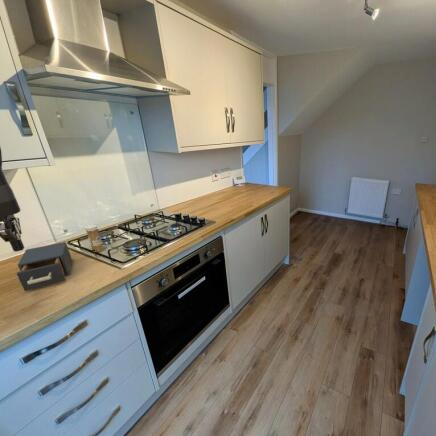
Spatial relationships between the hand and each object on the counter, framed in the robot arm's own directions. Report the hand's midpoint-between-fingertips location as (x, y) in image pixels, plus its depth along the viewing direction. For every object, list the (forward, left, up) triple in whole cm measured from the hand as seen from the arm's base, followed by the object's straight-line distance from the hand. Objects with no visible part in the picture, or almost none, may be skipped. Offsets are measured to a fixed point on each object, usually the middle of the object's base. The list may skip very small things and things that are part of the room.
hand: (19, 250), depth 78 cm
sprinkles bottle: (+16, +35, -21) cm, 44 cm away
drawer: (0, +14, -20) cm, 25 cm away
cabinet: (0, +23, -21) cm, 31 cm away
